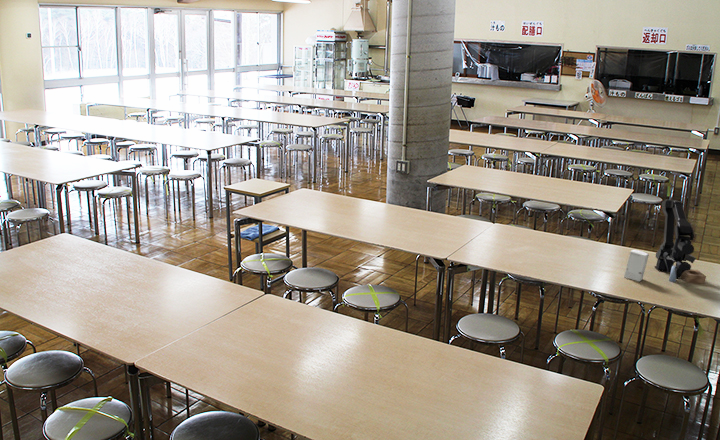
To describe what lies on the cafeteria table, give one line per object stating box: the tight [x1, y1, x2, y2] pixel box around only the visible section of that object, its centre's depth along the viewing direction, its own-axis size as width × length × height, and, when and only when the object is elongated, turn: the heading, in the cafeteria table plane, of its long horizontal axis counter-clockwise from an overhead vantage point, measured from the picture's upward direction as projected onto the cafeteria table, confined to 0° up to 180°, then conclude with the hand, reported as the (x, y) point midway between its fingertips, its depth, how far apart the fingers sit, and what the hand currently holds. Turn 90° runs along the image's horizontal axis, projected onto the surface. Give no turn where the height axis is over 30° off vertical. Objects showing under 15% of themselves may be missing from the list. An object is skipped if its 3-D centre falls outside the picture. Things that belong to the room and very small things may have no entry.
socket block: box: [680, 268, 707, 284], centre depth 313 cm, size 9×9×4 cm
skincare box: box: [623, 249, 650, 282], centre depth 308 cm, size 8×6×15 cm
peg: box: [668, 265, 677, 283], centre depth 309 cm, size 3×3×8 cm
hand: (673, 275), depth 309 cm, fingers open, 9 cm apart
